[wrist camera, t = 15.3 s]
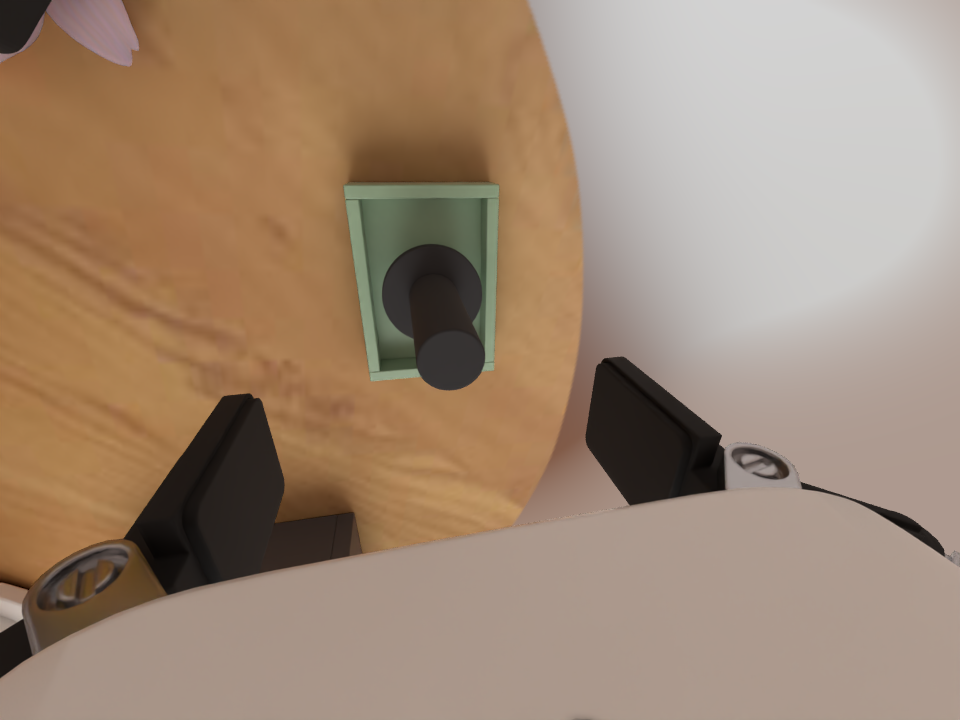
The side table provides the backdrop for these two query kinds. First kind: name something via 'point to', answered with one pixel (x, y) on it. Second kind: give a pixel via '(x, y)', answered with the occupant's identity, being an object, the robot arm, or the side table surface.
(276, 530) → the sink basin
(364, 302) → the soap tray
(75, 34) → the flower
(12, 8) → the decorative sign
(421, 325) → the plug
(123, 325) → the side table surface
